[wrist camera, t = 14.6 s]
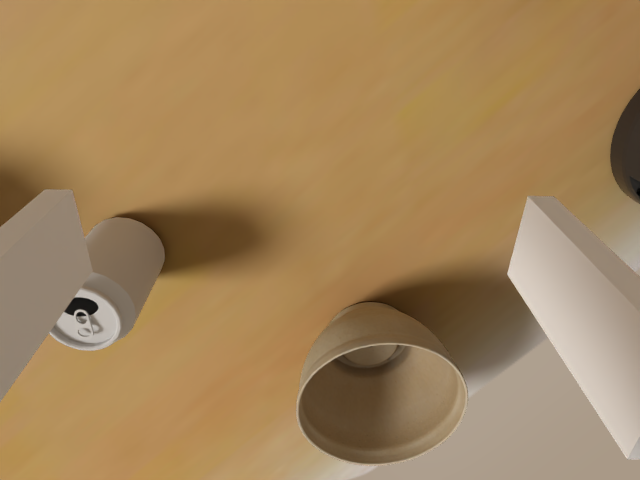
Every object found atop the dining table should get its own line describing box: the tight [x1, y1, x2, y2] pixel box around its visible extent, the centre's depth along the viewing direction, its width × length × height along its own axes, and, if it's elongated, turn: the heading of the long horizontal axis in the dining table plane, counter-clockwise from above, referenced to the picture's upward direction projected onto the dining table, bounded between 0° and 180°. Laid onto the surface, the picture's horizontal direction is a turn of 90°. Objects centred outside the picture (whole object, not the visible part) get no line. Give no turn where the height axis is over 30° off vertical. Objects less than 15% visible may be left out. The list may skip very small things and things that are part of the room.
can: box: [49, 217, 165, 351], centre depth 42 cm, size 8×8×12 cm
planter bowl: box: [296, 302, 468, 466], centre depth 49 cm, size 16×16×11 cm
